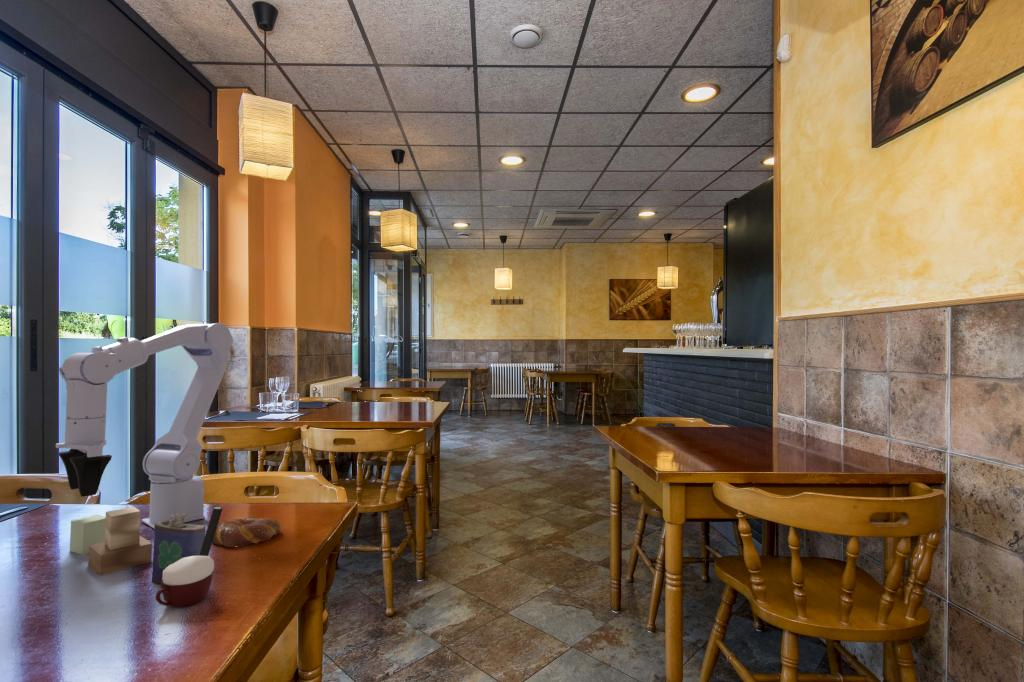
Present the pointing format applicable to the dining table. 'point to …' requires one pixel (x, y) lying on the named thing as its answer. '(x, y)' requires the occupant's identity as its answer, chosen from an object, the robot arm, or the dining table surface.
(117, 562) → the walnut slab
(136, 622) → the dining table surface
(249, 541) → the pretzel
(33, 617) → the dining table surface
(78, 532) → the sage block
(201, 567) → the cocoa
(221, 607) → the dining table surface
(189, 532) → the flask
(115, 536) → the beech block
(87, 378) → the robot arm
